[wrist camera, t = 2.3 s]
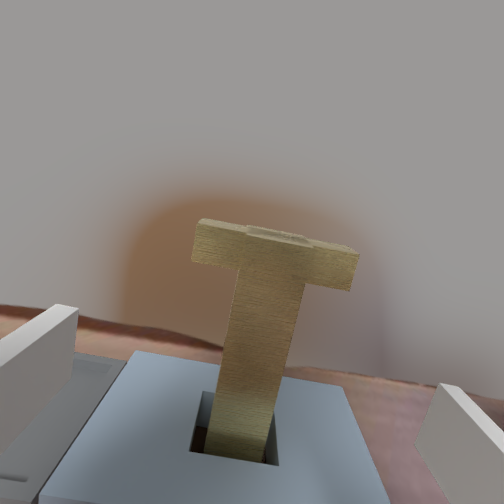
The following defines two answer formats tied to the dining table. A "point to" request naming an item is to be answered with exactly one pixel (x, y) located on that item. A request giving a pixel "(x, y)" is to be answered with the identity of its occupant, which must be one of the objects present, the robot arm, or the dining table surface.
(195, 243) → the t key
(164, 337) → the dining table surface
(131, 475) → the cover plate
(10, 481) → the tray
